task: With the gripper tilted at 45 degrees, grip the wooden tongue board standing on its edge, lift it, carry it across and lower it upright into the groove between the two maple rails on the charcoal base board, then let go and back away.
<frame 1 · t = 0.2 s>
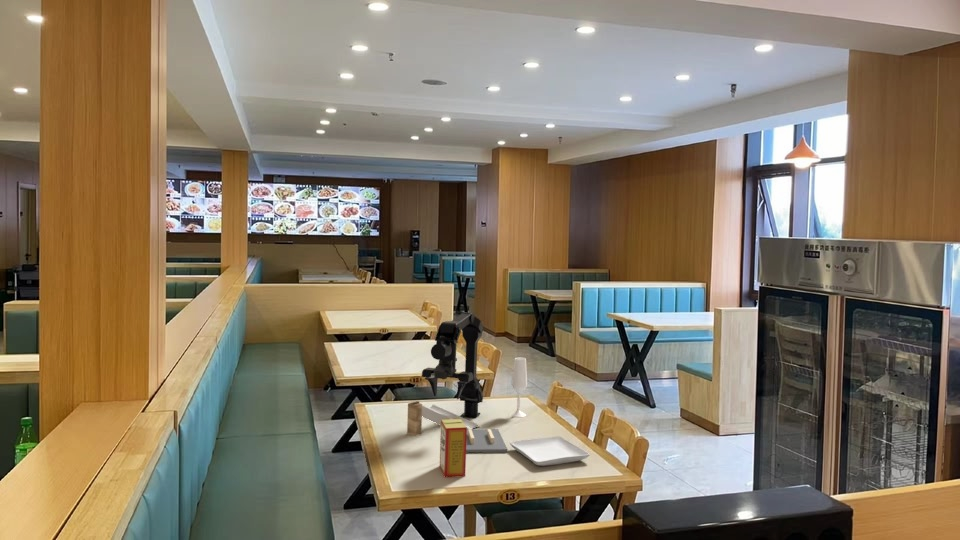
hand: (446, 397, 241), 14 cm above the table, tool pointing down, fingers open, 9 cm apart
groove board: (480, 442, 235), on the table
crown molding: (444, 421, 261), on the table
baking soda box: (452, 471, 207), on the table
salad plate: (548, 457, 224), on the table
champagne flute: (518, 415, 271), on the table
wooden tongue board: (414, 433, 242), on the table
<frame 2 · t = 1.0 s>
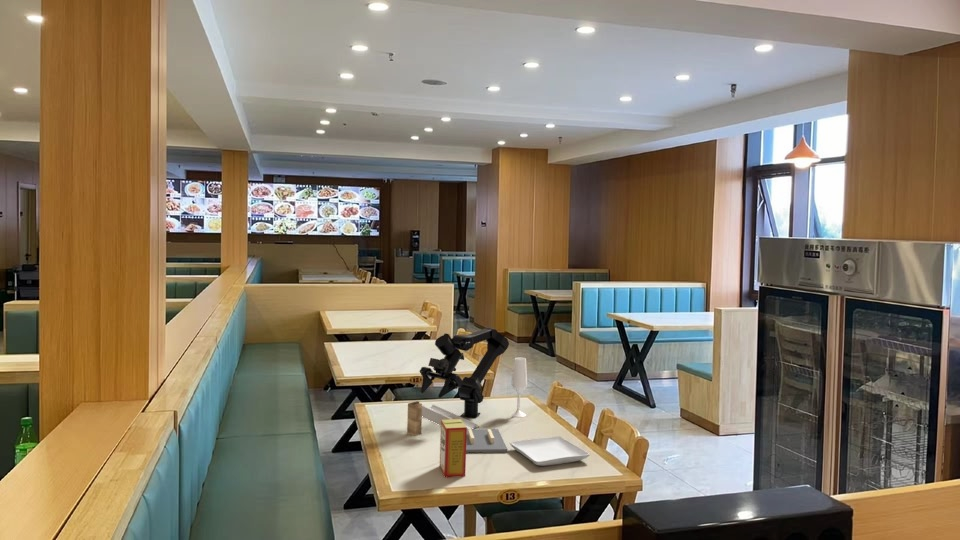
hand: (430, 394, 248), 13 cm above the table, tool tilted 45°, fingers open, 9 cm apart
nothing on the table moved.
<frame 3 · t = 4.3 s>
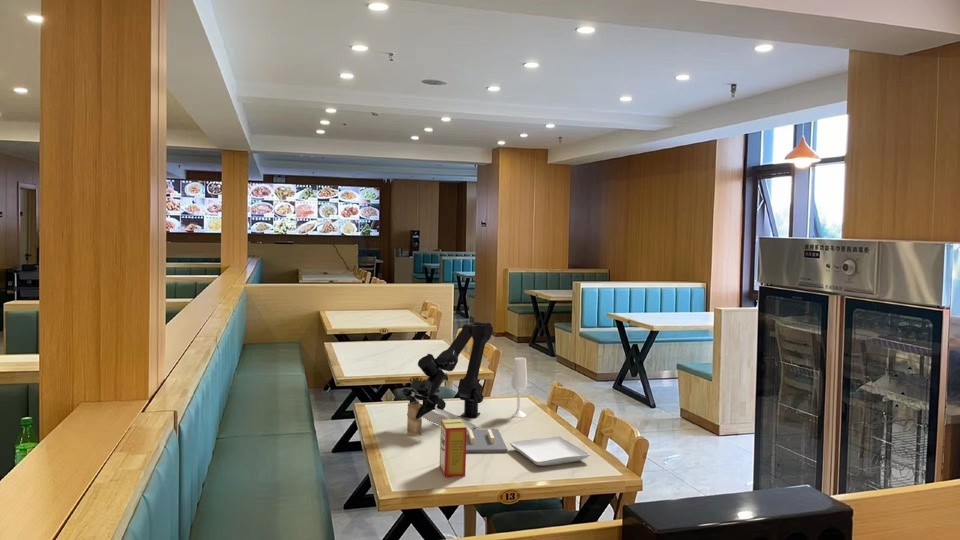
hand: (412, 417, 241), 7 cm above the table, tool tilted 45°, fingers closed on wooden tongue board, 4 cm apart
wooden tongue board: (414, 433, 242), on the table, touching gripper
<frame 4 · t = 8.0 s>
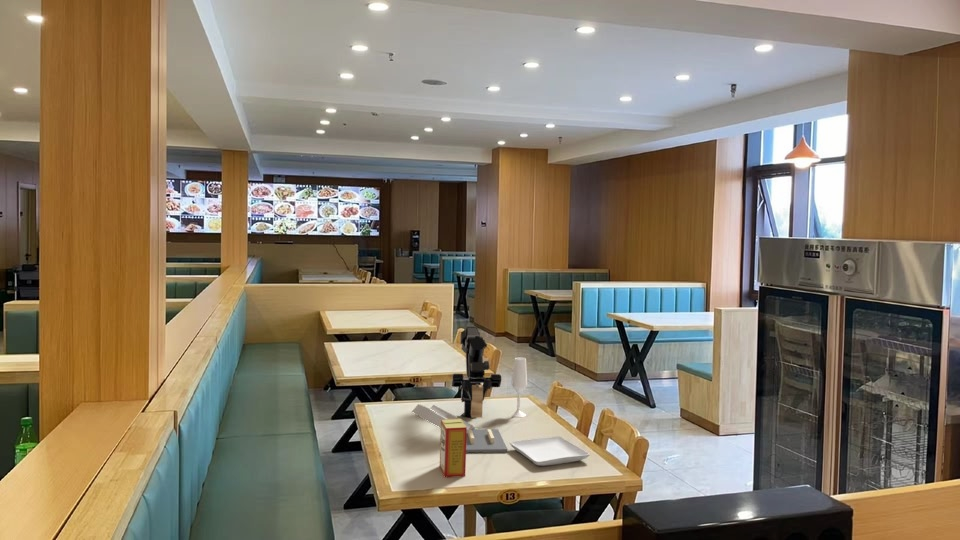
hand: (477, 400, 242), 13 cm above the table, tool tilted 45°, fingers closed on wooden tongue board, 4 cm apart
wooden tongue board: (476, 416, 244), point 7 cm above the table, touching gripper
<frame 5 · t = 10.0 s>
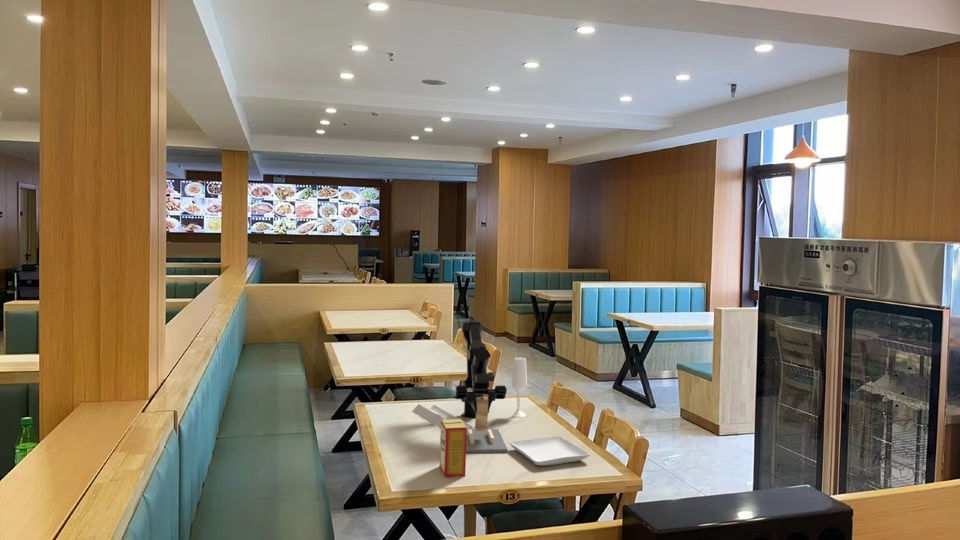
hand: (482, 412, 234), 11 cm above the table, tool tilted 45°, fingers closed on wooden tongue board, 4 cm apart
wooden tongue board: (481, 429, 235), point 5 cm above the table, touching gripper
when the fingers open (9 cm above the table, at t = 11.6 s): wooden tongue board stays where it is, resting on groove board.
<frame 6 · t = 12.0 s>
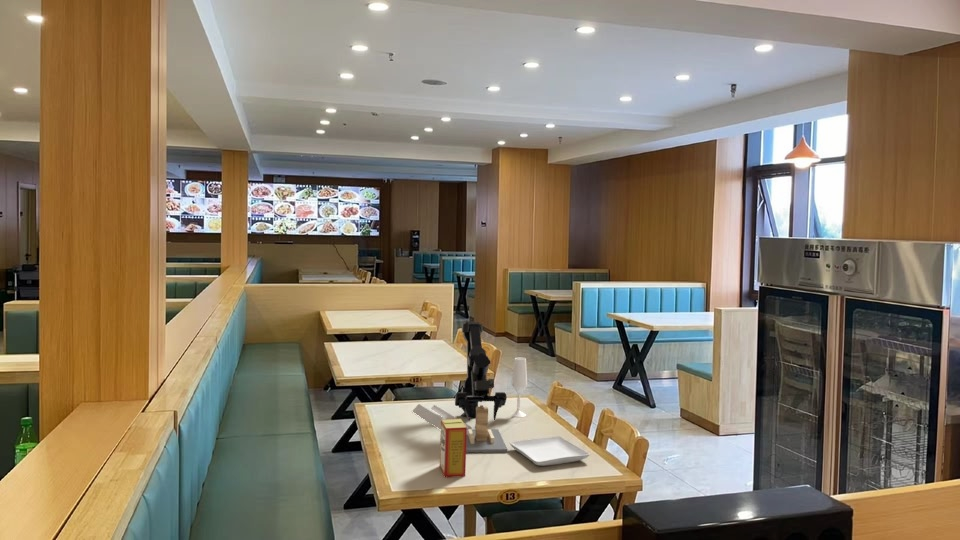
hand: (482, 419, 233), 9 cm above the table, tool tilted 45°, fingers open, 9 cm apart
wooden tongue board: (481, 438, 235), point 1 cm above the table, touching groove board
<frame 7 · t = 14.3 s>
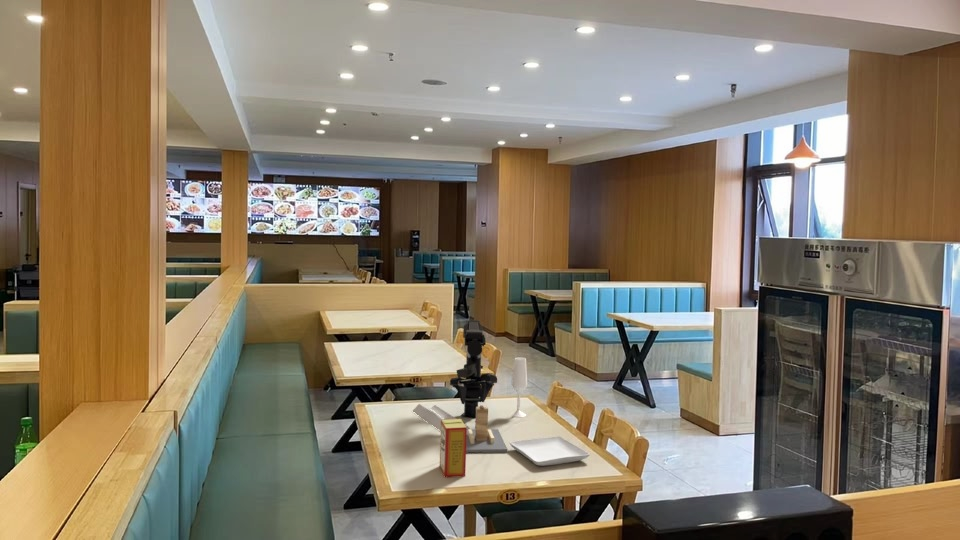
hand: (472, 403, 245), 11 cm above the table, tool tilted 25°, fingers open, 9 cm apart
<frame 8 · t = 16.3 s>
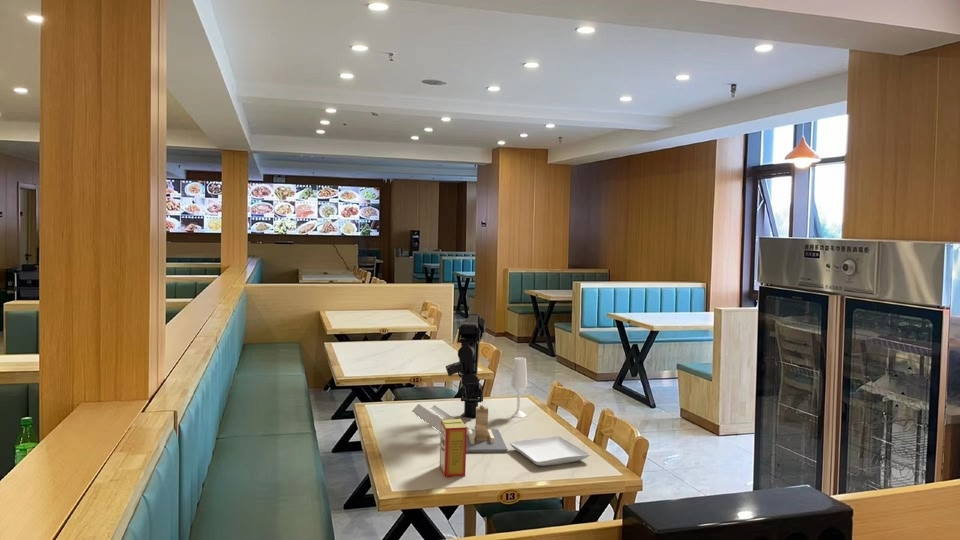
hand: (466, 396, 249), 13 cm above the table, tool pointing down, fingers open, 9 cm apart
at the end: wooden tongue board 0.1 cm off-centre on the groove board, point 1.2 cm above the groove board's base; wooden tongue board tilted 0°; the gripper is holding nothing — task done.
